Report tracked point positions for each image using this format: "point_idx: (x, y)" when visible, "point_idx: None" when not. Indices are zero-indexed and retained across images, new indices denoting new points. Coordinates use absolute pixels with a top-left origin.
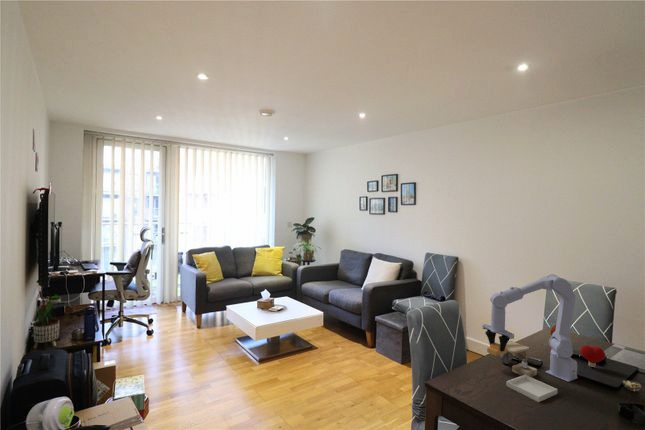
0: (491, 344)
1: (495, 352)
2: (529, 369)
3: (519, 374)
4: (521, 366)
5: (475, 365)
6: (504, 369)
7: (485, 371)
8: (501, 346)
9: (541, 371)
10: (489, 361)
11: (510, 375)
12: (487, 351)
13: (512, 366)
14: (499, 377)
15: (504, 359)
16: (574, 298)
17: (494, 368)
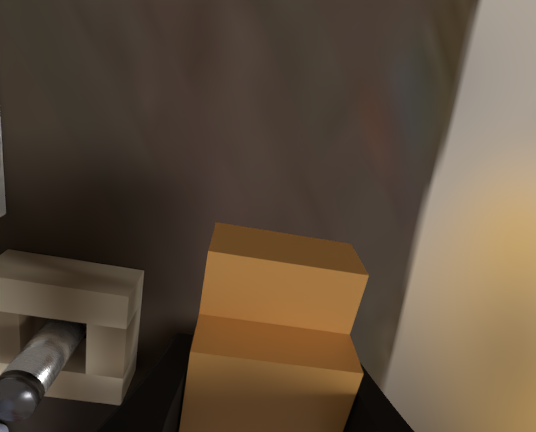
0: (338, 371)
1: (223, 244)
2: (10, 342)
3: (78, 261)
4: (87, 351)
5: (403, 122)
6: (197, 256)
7: (284, 72)
8: (148, 386)
9: (34, 422)
10: None
11: (109, 186)
12: (350, 247)
13: (127, 293)
14: (138, 56)
15: None
16: None
17: (258, 207)
